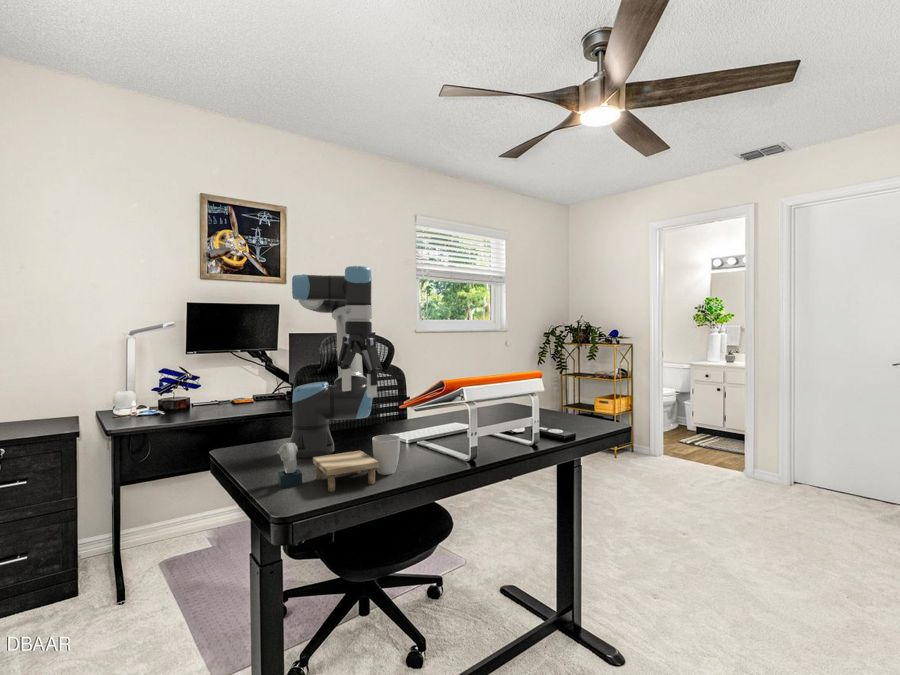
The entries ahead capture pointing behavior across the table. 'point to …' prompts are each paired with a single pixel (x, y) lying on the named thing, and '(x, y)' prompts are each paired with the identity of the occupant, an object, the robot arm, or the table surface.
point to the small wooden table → (344, 466)
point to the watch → (289, 466)
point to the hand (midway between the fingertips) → (358, 393)
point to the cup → (386, 453)
